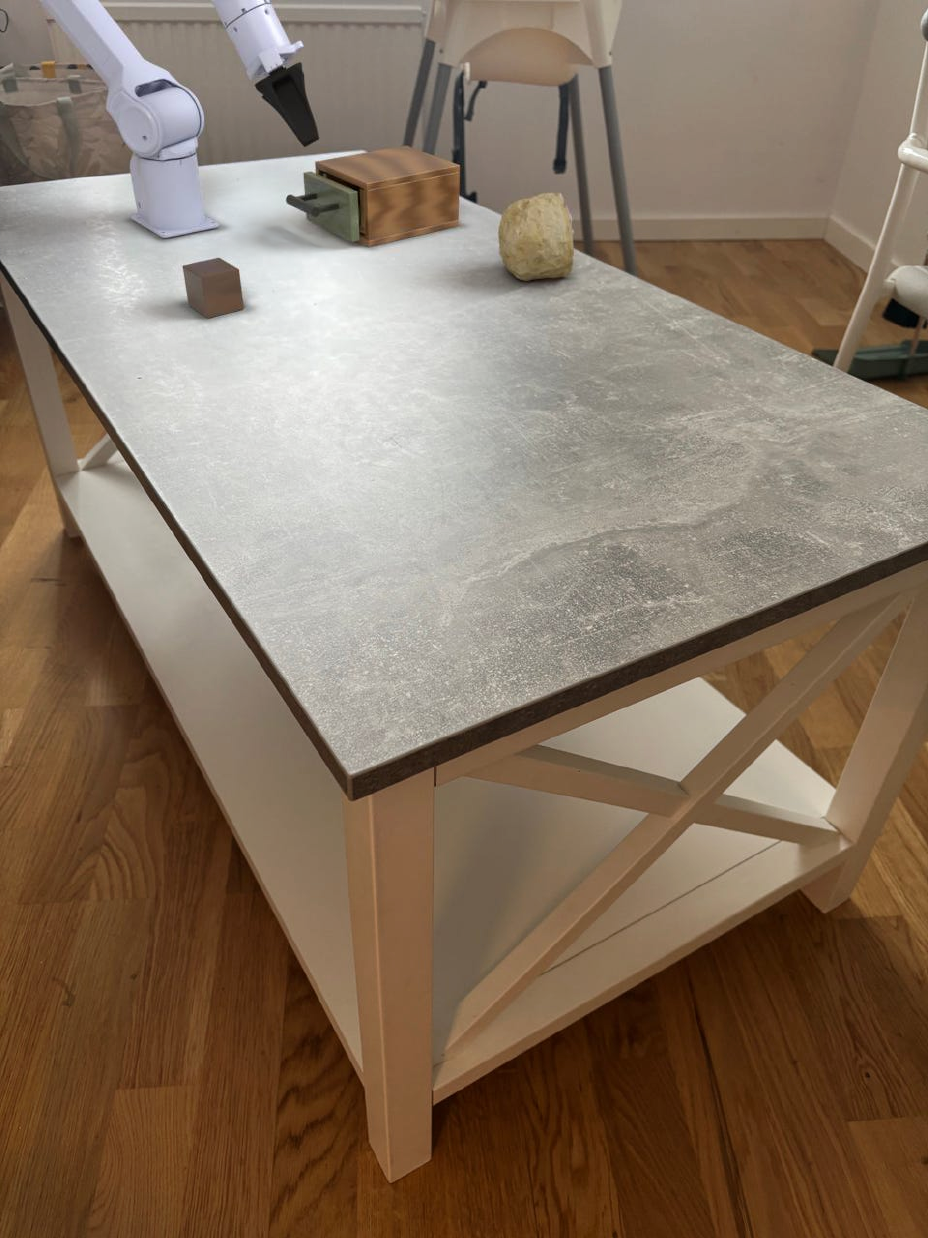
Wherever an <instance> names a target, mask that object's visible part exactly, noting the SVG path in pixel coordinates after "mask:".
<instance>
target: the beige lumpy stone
mask: <svg viewBox="0 0 928 1238" xmlns="http://www.w3.org/2000/svg"><path fill="white" fill-rule="evenodd" d="M572 224H573V218H572V215H571V212H570V210H569V207H568V205H567V203H565V198H564V197H563V195H562V193H561V192H544V193H540V194H538V195H536V196H535V195H533V196H530V197H528V198H523V199H519V200H515V201H514V202H513V203H511V204H510V205H508V206H507V208H506V209H505V210H504V211H503V214H502V215H501V217H500V221H499V226H498V231H497V235H498V236H497V237H498V254H499V255H500V257H501V261H502V263H503V265H504V266H505V267H506V269H507V270H508V272H510V273H511V274H512V275H513V276H514V277H515V278H517V279H519V280H521V281H524V282H529V281H532V280H533V281H534V280H538V279H548V278H550V279H557V278H568V277H569V275H570V273H571V272H572V270H573V266H574V255H575V249H574V247H575V246H574V233H575V229H573V225H572Z"/></svg>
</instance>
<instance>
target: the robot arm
mask: <svg viewBox="0 0 928 1238" xmlns="http://www.w3.org/2000/svg"><path fill="white" fill-rule="evenodd" d="M38 1H39V3H40V4H41V5H42V6H43V8H44V9H45V10H46V11H47V12H48V15H50V17H51V18H52V19H53V20H54V22H56V25H58V26H59V28H60V29H61V30H62V31H63V33H64V34H65V36H66V37H68V38H69V40H70V41H71V43H72V44H73V45H74V46H75V48H76V49H77V51H79V53H80V54H81V55H82V57H84V59H85V60H86V61H87V63H88V64H89V65H90V67H91V68H92V69H93V70H94V71H95V73H96V74H97V75H98V77H99V78H100V79H101V80H102V81H103V83H104V84H105V86H106V87H107V88H108V92H107V98H106V102H105V109H106V111H107V112H108V114H109V115H110V116H111V117H112V119H113V121H114V123H115V125H116V126H117V129H118V131H119V134H120V136H121V139H122V140H123V142H124V144H125V145H126V146H127V147H128V148H129V149H130V150H131V151H132V155H131V158H130V161H129V173H130V178H131V183H132V184H131V185H132V189H133V195H134V199H135V205H136V211H137V213H136V214H132V215H131V220H132V221H134V222H136V223H137V224H139V225H140V226H142V227H144V228H145V229H147V230H149V231H150V232H151V233H154V234H155V235H157V236H159V237H160V238H162V239H168V238H174V237H178V236H183V235H188V234H192V233H197V232H201V231H208V230H213V229H217V228H219V227H220V222H218V221H215V220H214V219H212V218H210V217H208V216H207V215H206V210H205V205H204V204H205V203H204V197H203V189H202V184H201V176H200V167H199V161H198V154H197V149H198V148H199V144H198V143H199V142H198V138H199V137H200V136H201V134H202V133H203V130H204V128H205V115H204V110H203V107H202V104H201V103H200V100H199V99H198V97H197V96H196V94H195V93H193V91H192V90H190V89H189V88H188V87H186V86H184V85H182V84H181V83H179V82H178V81H177V80H176V79H175V78H174V77H173V75H172V74H171V73H170V71H168V70H166V69H164V68H162V67H160V66H158V65H156V64H154V63H151V61H150V62H149V61H148V60H146V59H145V58H144V57H143V56H142V54H141V53H140V52H139V51H138V49H137V48H136V46H135V45H134V44H133V43H132V42H131V40H130V39H129V37H127V35H126V34H125V33H124V31H123V30H122V29H121V27H120V26H119V25H118V23H117V22H116V21H115V19H114V18H113V17H112V16H111V15H110V13H109V12H108V10H107V9H106V8H105V7H104V6H103V5H102V3H101V1H99V0H38ZM210 2H211V3H212V5H213V8H214V9H215V11H216V13H217V16H218V17H219V19H220V21H221V23H222V25H223V26H224V29H225V31H226V33H227V35H228V37H229V39H230V40H231V42H232V45H233V47H234V48H235V51H236V52H237V54H238V56H239V58H240V60H241V62H242V64H243V66H244V67H245V69H246V72H245V73H246V75H247V77H248V79H249V80H251V81H254V80H258V79H259V81H257V82H256V83H255V84H254V87H255V90H256V91H257V92H258V93H260V94H261V99H263V101H265V102H266V103H267V104H268V105H270V106H271V107H272V109H274V110H275V111H276V112H277V113H278V114H279V116H280V117H281V118H282V120H283V121H284V122H285V123H286V124H287V127H289V129H290V131H291V132H292V133H293V134H294V136H295V138H296V139H297V140H298V141H299V143H300V144H301V145H302V146H303V147H304V148H307V147H308V146H310V145H312V144H314V143H315V142H317V141H319V140H320V135H319V134H320V133H319V130H318V126H317V123H316V120H315V117H314V114H313V111H312V108H311V105H310V102H309V99H308V95H307V91H306V83H305V82H306V81H305V73H304V71H303V62H301V61H299V62H296V63H295V64H293V65H290V66H289V67H286V66H288V65H289V63H290V62H292V60H293V59H294V58H295V56H296V55H297V54H298V53H299V52H301V51H303V50H304V49H305V46H304V44H303V42H302V40H298V41H296V42H294V43H293V44H292V43H291V41H290V39H289V37H288V35H287V33H286V31H285V28H284V27H283V25H282V23H281V20H280V19H279V17H278V15H277V13H276V11H275V9H274V7H273V5H272V2H271V1H270V0H210Z"/></svg>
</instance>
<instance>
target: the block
mask: <svg viewBox="0 0 928 1238" xmlns="http://www.w3.org/2000/svg"><path fill="white" fill-rule="evenodd" d="M182 272H183V279H184V286H185V292H186V297H187V298H186V299H187V303H188V306H189V307H190V308H192V309H193V310H194V311H196V312H197V313H199V314H200V315H202V316H203V317H204V318H206V319H211V318H216V317H219V316H223V315H227V314H230V313H235V312H239V311H243V310H244V309H245V308H244V307H245V306H244V299H243V298H244V297H243V291H242V283H241V276H240V275H241V274H240V269H239V268H238V267H236V266H234V265H233V264H231V263H229V262H227V261H226V260H224V259H222V258H221V257H216V258H215V257H214V258H211V259H205V260H201V261H196V262H193V263H188V264H184V265H182Z"/></svg>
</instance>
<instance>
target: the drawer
mask: <svg viewBox="0 0 928 1238" xmlns="http://www.w3.org/2000/svg"><path fill="white" fill-rule="evenodd" d="M302 175H303V188H304V189H303V191H304V194H302V195H297V196H295V195H294V194H288V195H287V196H286V198H285V202H286V205H289V206H291V207H293V208H295V209H297V210H299V211H301V212H303V213H305V214H306V221H307V222H310V223H312V224H314V225H316V226H318V227H320V228H322V229H324V230H326V231H328V232H331V233H333V234H334V235H337V236H339V237H340V238H343V239H344V240H347V241H348V242H351V243H354V242H358V240H359V232H361V233H364V234H365V212H364V189H363V188H361V187H359V186H356V185H354V184H352V183H349V182H347V181H345V180H342V179H340V178H338V177H335V176H333V175H331V174H328V173H326V172H325V173H323V176H320V175H318V174H316V172H313V171H306V172H302Z"/></svg>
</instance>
